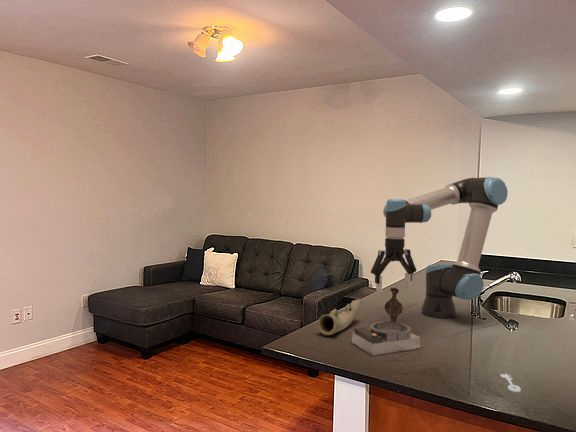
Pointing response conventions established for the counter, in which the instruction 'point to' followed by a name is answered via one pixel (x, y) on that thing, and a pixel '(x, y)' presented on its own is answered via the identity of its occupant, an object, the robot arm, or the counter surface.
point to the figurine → (393, 306)
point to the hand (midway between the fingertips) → (393, 290)
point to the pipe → (339, 318)
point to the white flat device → (385, 338)
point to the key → (511, 383)
